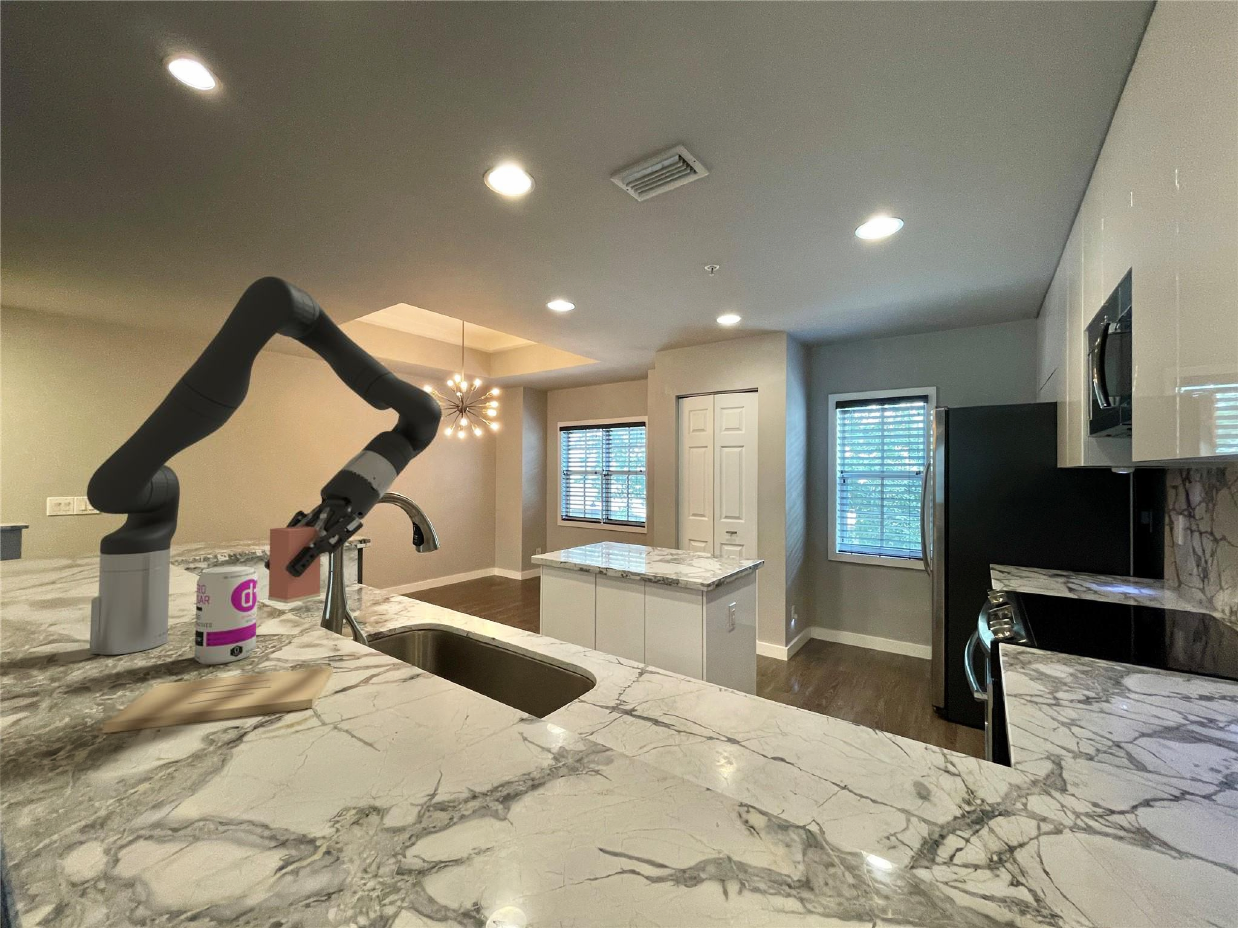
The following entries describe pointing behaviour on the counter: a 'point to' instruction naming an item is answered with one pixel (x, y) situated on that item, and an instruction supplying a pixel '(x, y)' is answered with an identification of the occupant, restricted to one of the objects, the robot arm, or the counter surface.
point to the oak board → (221, 699)
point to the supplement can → (226, 614)
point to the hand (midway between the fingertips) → (281, 571)
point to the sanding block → (281, 554)
